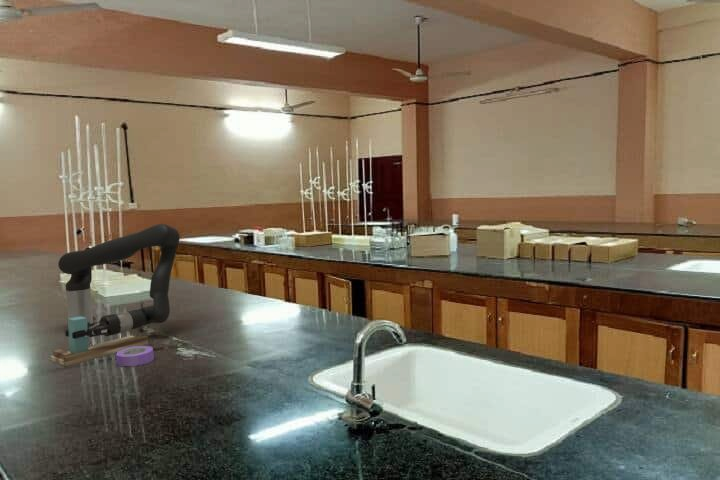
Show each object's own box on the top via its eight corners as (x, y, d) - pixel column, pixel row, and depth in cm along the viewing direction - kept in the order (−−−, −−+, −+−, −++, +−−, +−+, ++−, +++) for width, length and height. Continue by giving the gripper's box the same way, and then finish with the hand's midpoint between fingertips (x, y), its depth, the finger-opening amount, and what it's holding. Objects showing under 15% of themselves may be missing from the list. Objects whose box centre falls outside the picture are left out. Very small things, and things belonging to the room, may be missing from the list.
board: (50, 360, 187) (49, 350, 187) (131, 339, 211) (130, 330, 211) (66, 366, 180) (65, 356, 180) (148, 343, 204) (147, 334, 203)
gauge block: (69, 352, 189) (67, 318, 188) (82, 349, 192) (80, 316, 191) (75, 354, 186) (73, 320, 185) (88, 351, 189) (87, 317, 189)
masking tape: (118, 369, 176) (117, 358, 175) (115, 359, 186) (115, 349, 186) (155, 363, 181) (155, 352, 181) (151, 354, 192) (151, 343, 191)
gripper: (105, 311, 204) (58, 321, 190) (125, 316, 195) (78, 326, 181) (107, 330, 204) (60, 342, 191) (127, 336, 196) (79, 348, 182)
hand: (69, 334), depth 186 cm, fingers closed on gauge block, 4 cm apart
